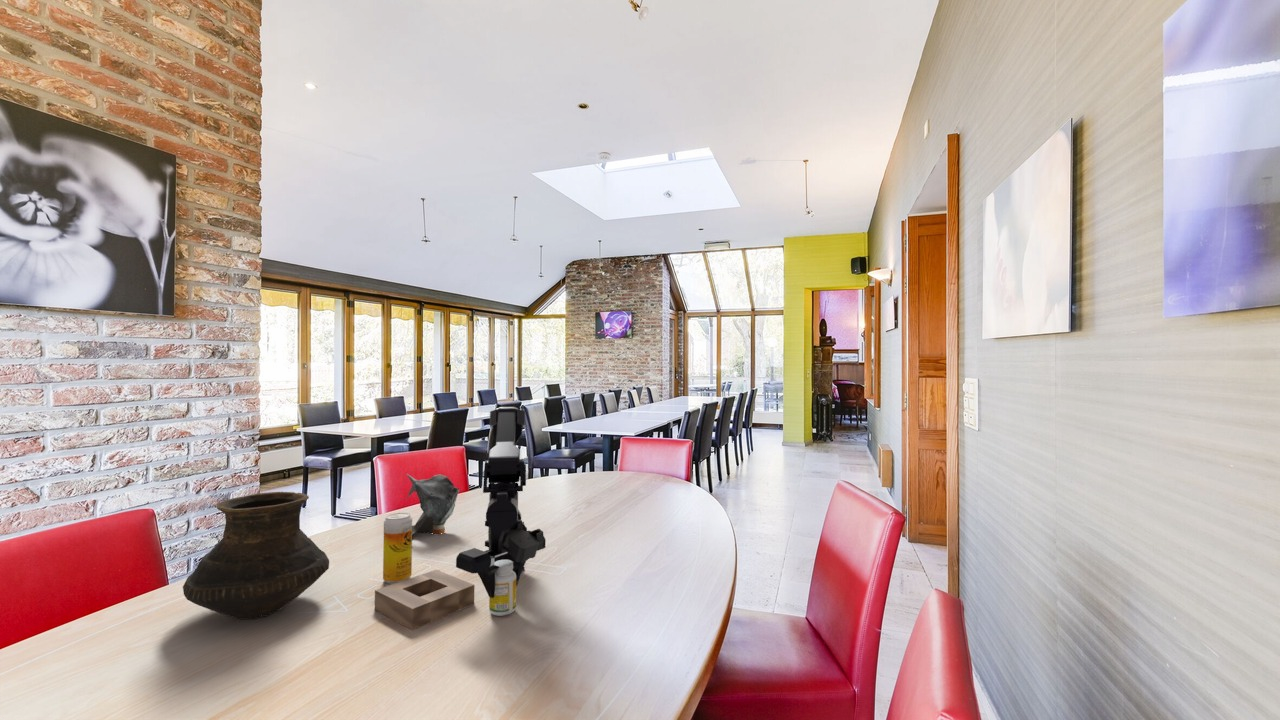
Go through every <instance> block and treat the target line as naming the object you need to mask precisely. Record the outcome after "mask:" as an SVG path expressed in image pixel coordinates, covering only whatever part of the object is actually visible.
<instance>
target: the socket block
mask: <svg viewBox="0 0 1280 720" xmlns="http://www.w3.org/2000/svg"><path fill="white" fill-rule="evenodd" d="M474 604H475V584H473V583H471V582H469V581H466V580H464V579H461V578H458V577H456V576H453V575H451V574H449V573H446V572H444V571H442V570H439V569H434V570H431V571H428V572H425V573H422V574H418V575H416V576H413V577H409V579H407V580H404V581H401V582H398V583H395V584H388V585H386V586H383V587H380V588H377V589H375V590H374V611H376V612H379V613H380V614H381V615H384V616H386V617H387V618H389V619H391V620H393V621H395V622H397V623H398V624H400V625H403V626H404V627H406V628H408V629H410V630H412V631H413V630H416V629H418V628H421V627H423V626H425V625H428V624H431V623H432V622H435V621H438V620H439V619H442V618H444V617H446V616H449V615H451V614H454V613H455V612H459V611H461V610H463V609H465V608H468V607H470V606H472V605H474Z"/></svg>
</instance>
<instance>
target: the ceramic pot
mask: <svg viewBox="0 0 1280 720" xmlns="http://www.w3.org/2000/svg"><path fill="white" fill-rule="evenodd" d="M309 498H310V497H309V495H307V494H306V493H302V492H293V491H272V492H271V491H270V492H259V493H252V494H249V495H244V496H238V497H235V498H234V497H233V498H229V499H225V500H222V501H220V502H219V503H217V504H216V506H215V507H216V508H217V510H218V511H220V512H222V513H223V514H224V516H225V526H224V530H223V535H222V538H221V539H220V540H219V541H218V543H216V544H215V546H214V547H213V548H212V549H211V550H210V551H208V552H207V553H206V554H205V555H204V556H203V557H202V559H201V560H199V562H198V564H197V567H196V568H195V569H194V571H193V572H192V573H191V574H189V575H188V576H187V578H186V579H185V582H184V583H183V586H182V591H183V596H184V598H185V599H186V600H187V601H189V602H191V603H193V604H194V605H197V606H199V607H201V608H205V609H207V610H211V611H214V612H216V613H219V614H221V615H224V616H227V617H232V618H235V619H239V620H254V619H258V618H262V617H266V616H270V614H271V615H272V614H274V613H277V612H279V611H280V610H282V608H283V609H284V607H286V606H287V605H288V604H289V603H291V602H292V601H294V600H295V599H297V598H298V597H299V596H301V594H303V593H304V592H305V591H306V590H307V589H309V588H310V587H311V586H312V585H314V584H315V583H316V582H317V581H318V580H319V579H320V578H321V577H322V576H323V575H324V574H325V573H326V572H327V571H328V570H329V569H330V560H329V557H328V555H327V554H326V552H325V551H323V550H322V549H320V548H319V547H318V546H317V544H316V543H315V542H314V541H313V540H312V539H311V538H309V537H308V535H307V534H306V533H305V532H303V530H302V529H301V527H300V526H301V525H300V522H301V521H300V519H301V518H300V517H301V516H300V515H301V511H302V507H303V504H304V503H305V502H306V501H307V500H308V499H309Z"/></svg>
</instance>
